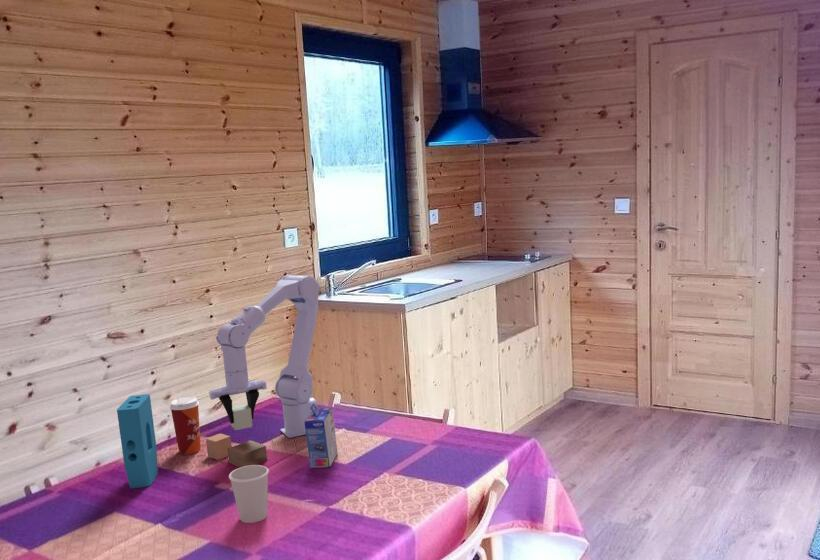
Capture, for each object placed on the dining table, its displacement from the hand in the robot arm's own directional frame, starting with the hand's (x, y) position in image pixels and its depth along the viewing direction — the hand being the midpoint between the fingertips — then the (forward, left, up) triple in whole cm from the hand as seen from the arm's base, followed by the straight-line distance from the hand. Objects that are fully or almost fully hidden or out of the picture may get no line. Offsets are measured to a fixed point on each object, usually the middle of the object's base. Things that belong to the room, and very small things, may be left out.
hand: (241, 420), depth 201 cm
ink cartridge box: (-15, +18, -9) cm, 25 cm away
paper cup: (+12, -12, -9) cm, 19 cm away
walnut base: (+1, +6, -9) cm, 11 cm away
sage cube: (0, 0, -2) cm, 2 cm away
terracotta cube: (+6, -3, -9) cm, 11 cm away
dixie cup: (+9, +39, -9) cm, 41 cm away
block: (+26, +2, -9) cm, 28 cm away
